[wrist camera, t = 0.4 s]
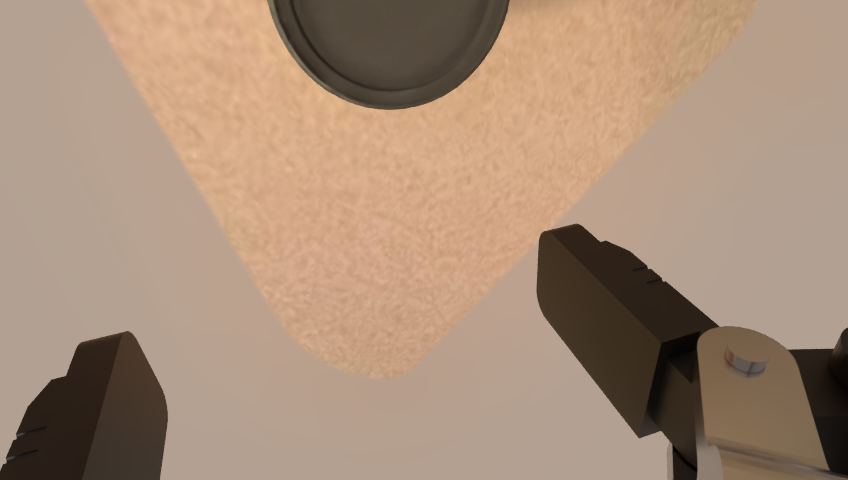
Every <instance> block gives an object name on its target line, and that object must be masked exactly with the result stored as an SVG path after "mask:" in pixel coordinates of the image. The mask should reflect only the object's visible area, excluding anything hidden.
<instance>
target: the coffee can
mask: <svg viewBox="0 0 848 480" xmlns="http://www.w3.org/2000/svg"><path fill="white" fill-rule="evenodd" d="M267 1H268V5H269V9H270V12H271V16H272V19H273V21H274V24H275V26H276V29H277V31H278V33H279V35H280V37H281V39H282V41H283V42H284V44H285V46H286V47H287V49H288V51H289V53H290V54H291V55H292V57H293V58H294V59H295V61H296V62H297V63H298V65H299V66H300V67H301V68H302V69H303V70H304V71H305V72H306V74H307V75H308V76H309V77H311V78H312V79H313V80H314V81H315V82H316V83H317V84H319V85H320V86H321V87H323V88H324V89H325V90H327V91H328V92H330V93H332V94H334V95H336V96H338V97H339V98H341V99H343V100H346V101H348V102H350V103H353V104H356V105H360V106H363V107H367V108H374V109H385V110H393V109H406V108H410V107H416V106H419V105H423V104H426V103H429V102H432V101H434V100H436V99H438V98H440V97H442V96H444V95H446V94H447V93H449V92H451V91H452V90H454V89H455V88H457V87H458V86H459V85H460V84H461V83H463V82H464V81H465V80H466V79H467V78H468V77H469V76H470V75H471V74H472V73H473V72H474V71H475V70H476V69H477V68H478V66H479V65H480V64H481V63H482V61H483V60H484V59H485V57H486V56H487V54H488V53H489V51H490V50H491V48H492V46H493V45H494V43H495V41H496V39H497V37H498V35H499V33H500V30H501V28H502V26H503V23H504V20H505V17H506V13H507V10H508V5H509V0H267Z"/></svg>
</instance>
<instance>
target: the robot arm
mask: <svg viewBox="0 0 848 480" xmlns="http://www.w3.org/2000/svg"><path fill="white" fill-rule="evenodd" d="M537 298H538V302H539V306H540V308H541V311H542V313H543V315H544V317H545V318H546V319H547V321H548V322H549V323H550V325H551V326H552V327H553V328H554V330H555V331H556V332H557V334H558V335H559V336H560V337H561V339H562V340H563V341H564V342H565V344H566V345H567V346H568V347H569V349H570V350H571V351H572V353H573V354H574V355H575V357H576V358H577V359H578V360H579V362H580V363H581V364H582V366H583V367H584V368H585V369H586V371H587V372H588V373H589V375H590V376H591V377H592V379H593V380H594V381H595V382H596V384H597V385H598V386H599V388H600V389H601V390H602V391H603V393H604V394H605V395H606V397H607V398H608V399H609V400H610V402H611V403H612V404H613V406H614V407H615V408H616V409H617V411H618V412H619V413H620V414H621V416H622V417H623V418H624V419H625V421H626V422H627V423H628V425H629V426H630V427H631V429H632V430H633V431H634V432H635V434H636V435H637V436H638V438H642V437H644V436H647V435H650V434H653V433H656V432H659V431H662V432H663V433H664V435H665V436H666V437H667V438H668V439H669V445H668V448H667V474H668V475H667V477H668V480H848V328H846V329H845V330H844V331H843V332H842V334H841V336H840V338H839V340H838V342H837V344H836V346H835V348H834V349H799V350H787V349H786V348H785V347H784V346H782V345H781V344H780V343H778V342H777V341H775V340H774V339H772V338H770V337H768V336H766V335H764V334H762V333H759V332H756V331H754V330H750V329H745V328H741V327H733V326H731V327H730V326H724V327H719V326H718V325H717V324H716V323H714V322H713V321H712V320H711V319H710V318H709V317H708V316H706V315H705V314H704V313H703V312H702V311H700V310H699V309H698V308H697V307H696V306H694V305H693V304H692V303H691V302H690V301H688V300H687V299H686V298H685V297H684V296H682V295H681V294H680V293H679V292H678V291H677V290H675V289H674V288H673V287H672V286H671V285H669V284H668V283H667V282H666V281H665V282H663V281H662V278H661V277H660V276H659V275H657V274H656V273H655V272H654V271H653V270H652V269H648V268H647V265H645V264H644V263H643V262H642V261H641V260H640V259H638V258H637V257H636V256H635V255H634V254H633V253H631V252H630V251H628V250H626V249H623V248H621V247H619V246H617V245H615V244H612V243H610V242H608V241H603V242H600V241H599V240H597V239H596V238H595V237H594V236H593V235H592V234H591V233H589V232H588V231H587V230H586V229H585V228H584V227H583V226H581V225H579V224H573V225H569V226H565V227H560V228H557V229H552V230H548V231H544V232H542V234H541V235H540V239H539V251H538V272H537ZM167 422H168V412H167V405H166V400H165V396H164V393H163V390H162V388H161V386H160V384H159V382H158V380H157V378H156V376H155V374H154V372H153V370H152V368H151V366H150V365H149V363H148V361H147V359H146V357H145V355H144V353H143V351H142V349H141V347H140V345H139V343H138V341H137V340H136V338H135V337H134V335H133V334H132V333H130V332H129V331H126V332H123V333H118V334H114V335H110V336H106V337H101V338H97V339H93V340H89V341H85V342H81V343H80V344H79V345H78V346H77V348H76V351H75V353H74V356H73V359H72V361H71V364H70V367H69V370H68V372H67V375H66V376H65V377H61V378H56V379H53V380H51V381H50V382H49V383H48V385H47V386H46V387H45V388H44V389H43V390H42V391H41V392H40V394H39V395H38V396H37V397H36V398H35V399H34V401H32V403H31V404H30V405H29V406H28V408H27V410H26V412H25V415H24V417H23V419H22V422H21V424H20V426H19V429H18V431H17V433H16V436H17V439H16V440H13V443H12V445H11V447H10V449H9V452H8V454H7V457H6V460H7V463H6V464H3V466H2V468H1V471H0V480H160V473H161V467H162V459H163V452H164V445H165V438H166V430H167Z"/></svg>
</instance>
